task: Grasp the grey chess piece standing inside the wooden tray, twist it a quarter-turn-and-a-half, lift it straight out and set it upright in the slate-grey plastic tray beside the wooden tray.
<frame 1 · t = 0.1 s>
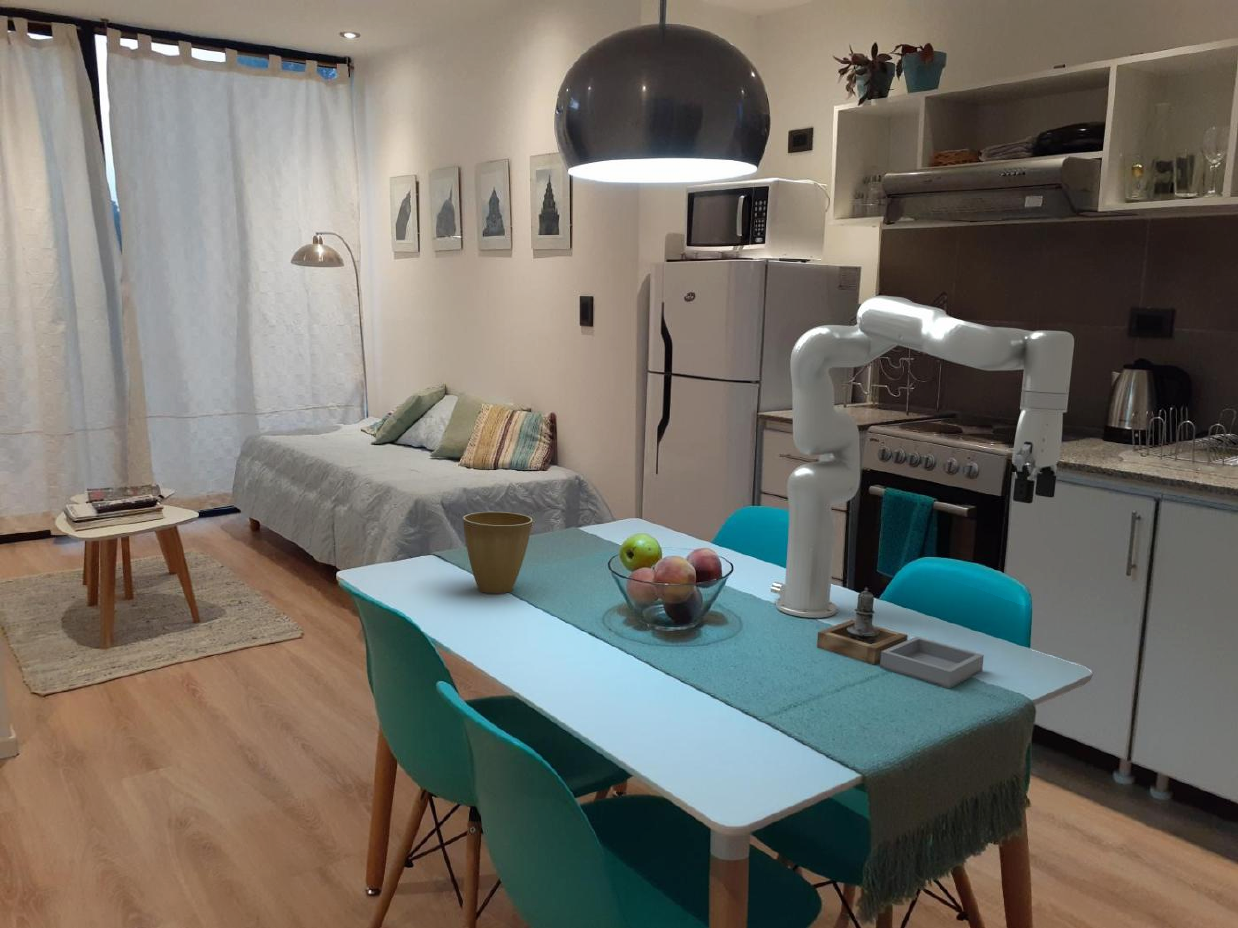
hand: (1033, 499, 172), 31 cm above the table, tool pointing down, fingers open, 9 cm apart
grey tray: (931, 669, 174), on the table
grey chess piece: (861, 649, 184), resting in wooden tray
plant pot: (496, 590, 214), on the table
wooden tray: (861, 648, 184), on the table
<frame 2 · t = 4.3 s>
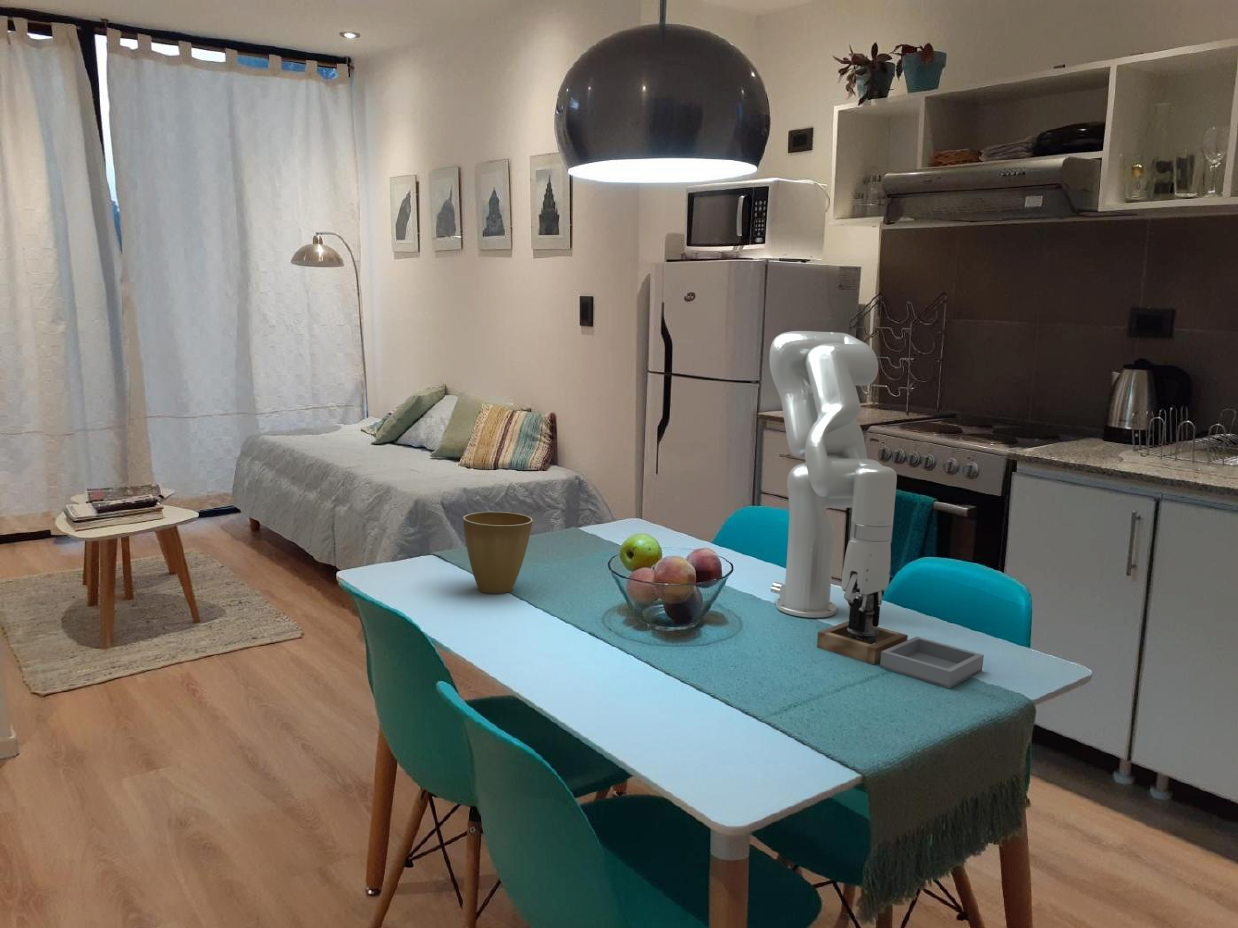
hand: (863, 626, 183), 4 cm above the table, tool pointing down, fingers closed on grey chess piece, 4 cm apart
grey chess piece: (861, 649, 184), resting in wooden tray, touching gripper
everything else where it was.
when the fingers open (6 cm above the table, at t = 12.1 s): grey chess piece stays where it is, resting on grey tray.
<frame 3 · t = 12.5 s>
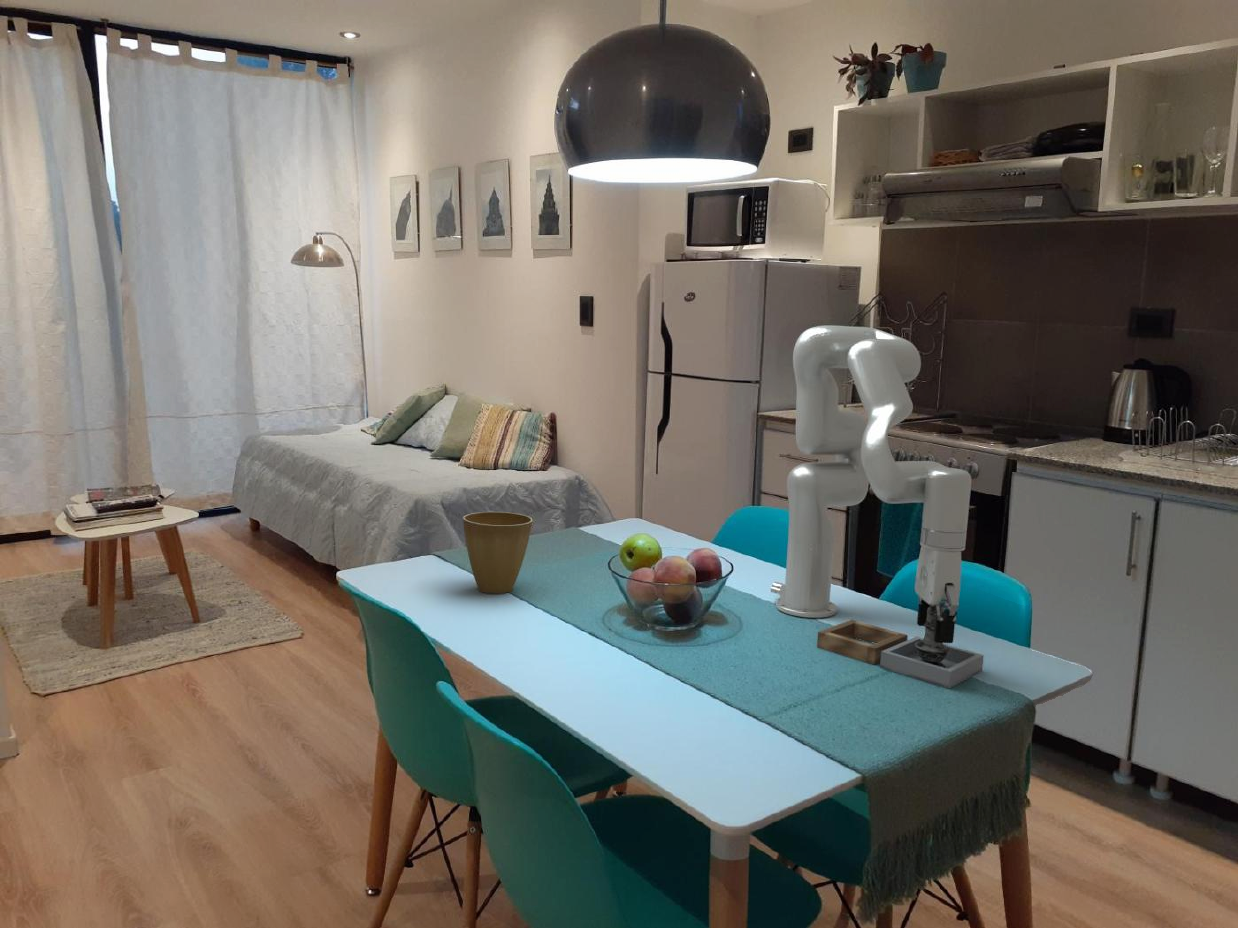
hand: (934, 633, 173), 7 cm above the table, tool pointing down, fingers open, 8 cm apart
grey chess piece: (930, 666, 175), resting on grey tray
everything else where it was.
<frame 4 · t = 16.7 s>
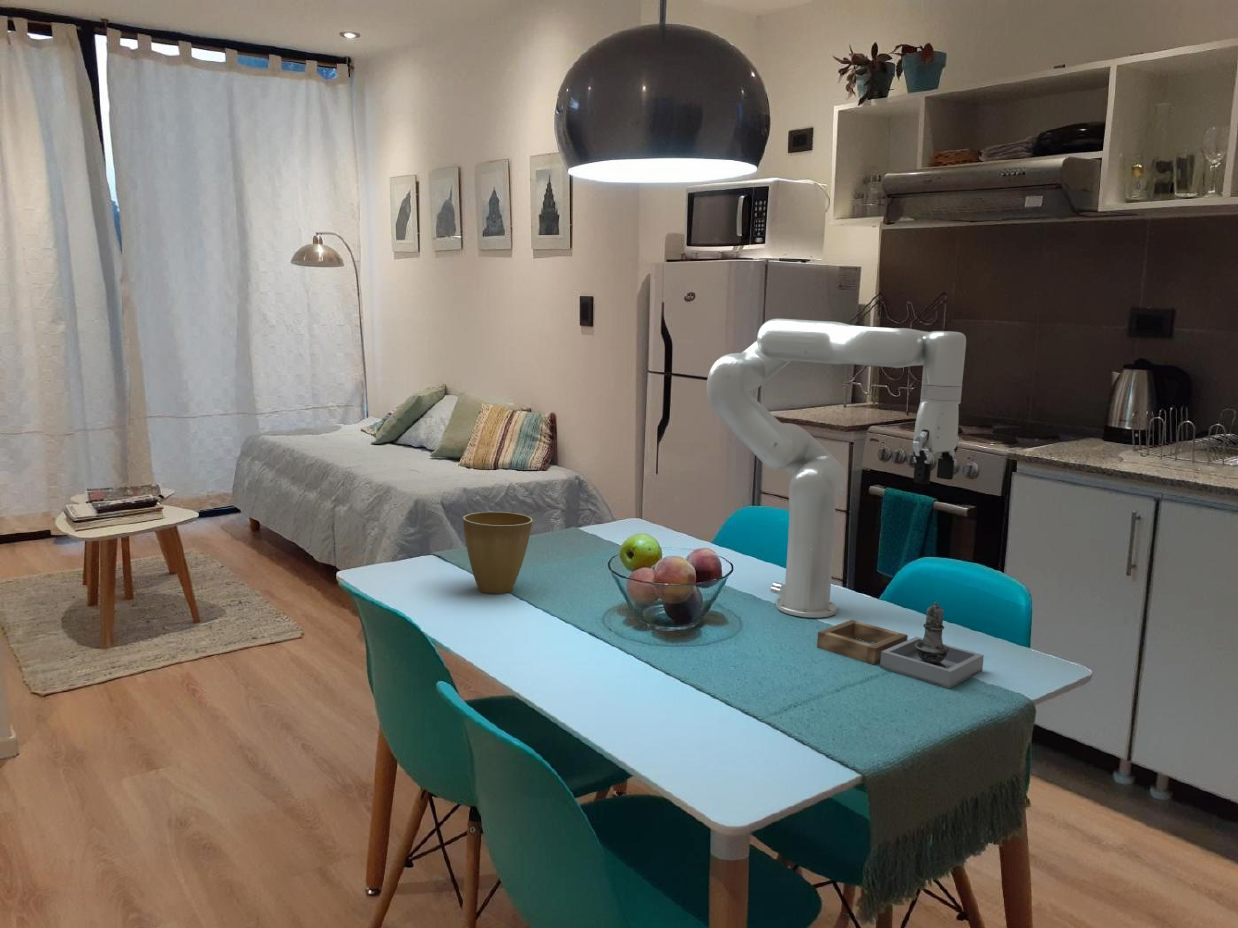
hand: (933, 480, 194), 30 cm above the table, tool pointing down, fingers open, 9 cm apart
nothing on the table moved.
at the end: grey chess piece inside the target area on the grey tray (0.2 cm from its centre), point 0.3 cm above the grey tray's base; grey chess piece tilted 0°; the gripper is holding nothing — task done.
